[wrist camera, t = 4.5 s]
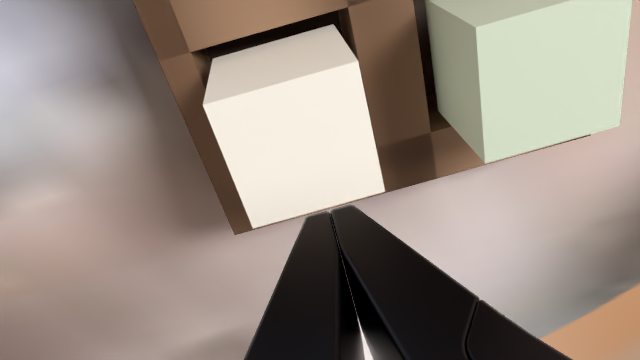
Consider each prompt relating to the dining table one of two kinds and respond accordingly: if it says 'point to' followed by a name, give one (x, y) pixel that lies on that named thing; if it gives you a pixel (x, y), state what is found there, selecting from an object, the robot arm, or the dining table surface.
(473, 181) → the dining table surface
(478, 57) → the key sage
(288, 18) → the brown shallow tray
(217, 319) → the dining table surface
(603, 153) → the dining table surface
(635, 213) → the dining table surface
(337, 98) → the cream white cube
